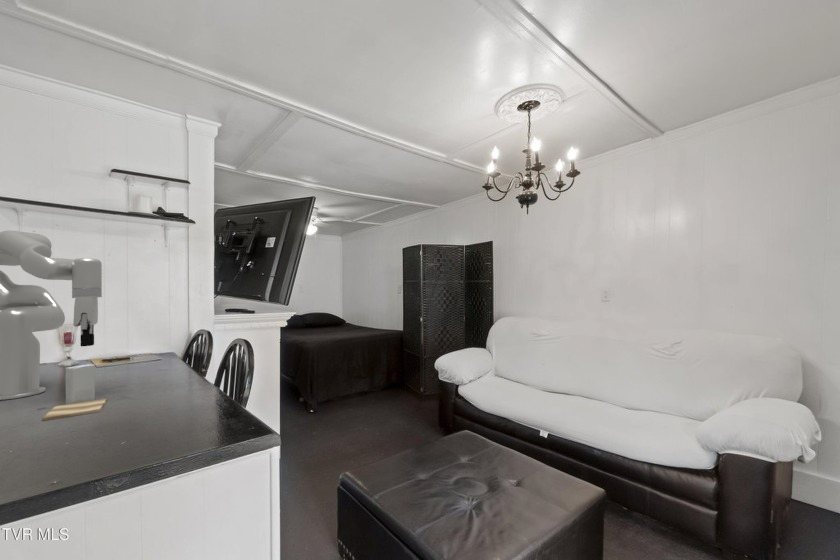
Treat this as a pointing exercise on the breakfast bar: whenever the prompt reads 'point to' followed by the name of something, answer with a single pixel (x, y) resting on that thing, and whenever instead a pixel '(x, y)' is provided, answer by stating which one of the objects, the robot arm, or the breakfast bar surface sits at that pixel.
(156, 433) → the breakfast bar surface
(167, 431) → the breakfast bar surface
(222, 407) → the breakfast bar surface
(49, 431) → the breakfast bar surface
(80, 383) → the skincare box
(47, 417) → the brass plate
